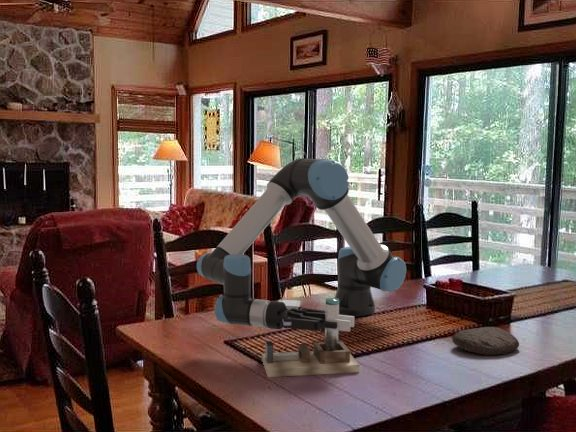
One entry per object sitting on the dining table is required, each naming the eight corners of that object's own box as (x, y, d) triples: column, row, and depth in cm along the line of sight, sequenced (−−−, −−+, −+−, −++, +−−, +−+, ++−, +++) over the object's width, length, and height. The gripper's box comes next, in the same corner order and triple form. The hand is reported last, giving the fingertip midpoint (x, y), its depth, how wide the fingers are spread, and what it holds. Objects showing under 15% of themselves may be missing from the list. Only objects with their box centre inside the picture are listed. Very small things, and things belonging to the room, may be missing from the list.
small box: (298, 321, 203) (298, 306, 203) (275, 319, 204) (275, 305, 204) (300, 314, 211) (301, 300, 210) (278, 313, 212) (278, 299, 211)
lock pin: (297, 356, 163) (297, 339, 162) (299, 361, 159) (299, 344, 158) (265, 358, 161) (265, 341, 161) (267, 362, 158) (267, 345, 157)
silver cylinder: (336, 348, 164) (337, 297, 163) (339, 352, 161) (340, 301, 159) (323, 348, 164) (324, 298, 162) (326, 353, 160) (327, 301, 158)
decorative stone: (481, 362, 167) (482, 344, 166) (443, 347, 179) (444, 330, 178) (527, 350, 176) (528, 334, 176) (489, 337, 189) (490, 321, 188)
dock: (346, 356, 170) (347, 337, 169) (359, 372, 158) (359, 352, 157) (261, 360, 165) (261, 341, 165) (267, 377, 154) (268, 356, 153)
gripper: (279, 319, 176) (359, 328, 168) (257, 336, 160) (343, 347, 152) (280, 294, 175) (359, 302, 167) (257, 308, 159) (344, 318, 151)
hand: (351, 323), depth 159 cm, fingers closed on silver cylinder, 4 cm apart
